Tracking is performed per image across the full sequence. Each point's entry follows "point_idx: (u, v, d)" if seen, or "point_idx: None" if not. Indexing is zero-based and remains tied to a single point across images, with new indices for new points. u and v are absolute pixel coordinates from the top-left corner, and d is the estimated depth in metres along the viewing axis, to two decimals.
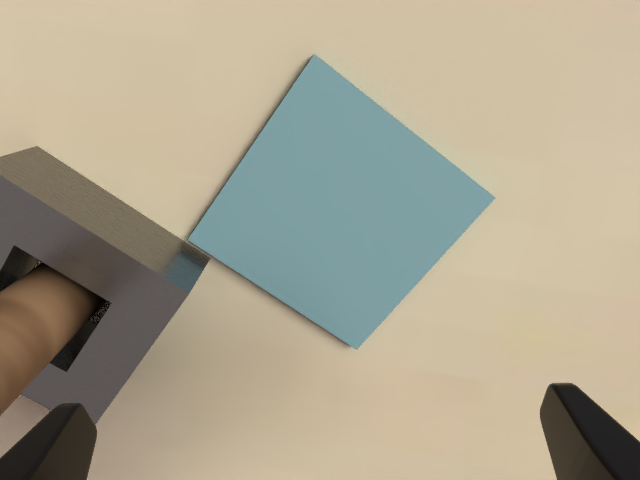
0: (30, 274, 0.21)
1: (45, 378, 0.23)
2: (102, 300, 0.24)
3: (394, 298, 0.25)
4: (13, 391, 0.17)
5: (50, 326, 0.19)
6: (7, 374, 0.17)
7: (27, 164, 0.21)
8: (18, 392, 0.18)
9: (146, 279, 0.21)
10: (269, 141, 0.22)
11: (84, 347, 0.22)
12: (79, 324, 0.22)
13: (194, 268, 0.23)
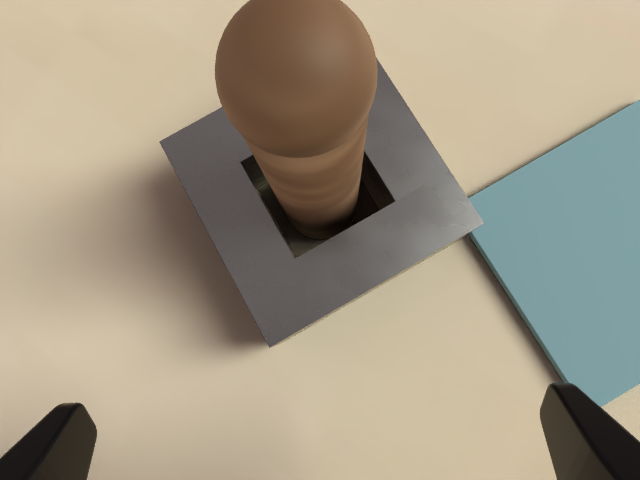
0: None
1: (265, 256, 0.19)
2: (347, 221, 0.22)
3: None
4: (353, 169, 0.14)
5: (361, 168, 0.17)
6: (364, 146, 0.14)
7: None
8: (343, 182, 0.15)
9: (447, 191, 0.19)
10: (577, 148, 0.23)
11: (334, 238, 0.19)
12: (348, 209, 0.19)
13: None
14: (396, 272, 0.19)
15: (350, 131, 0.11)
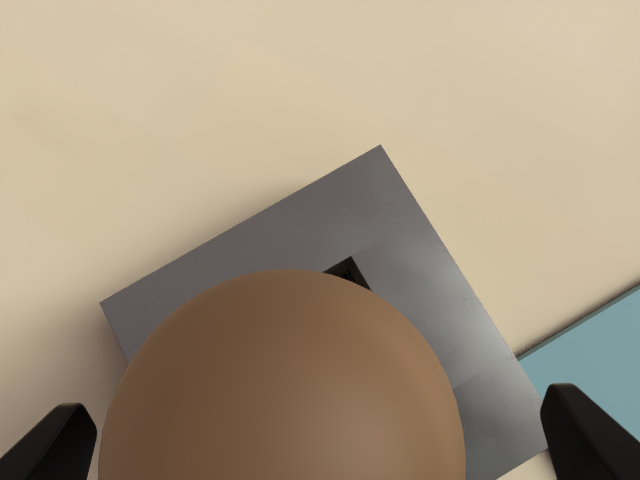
0: None
1: None
2: None
3: None
4: None
5: None
6: None
7: None
8: None
9: (510, 385, 0.13)
10: None
11: None
12: None
13: None
14: None
15: None
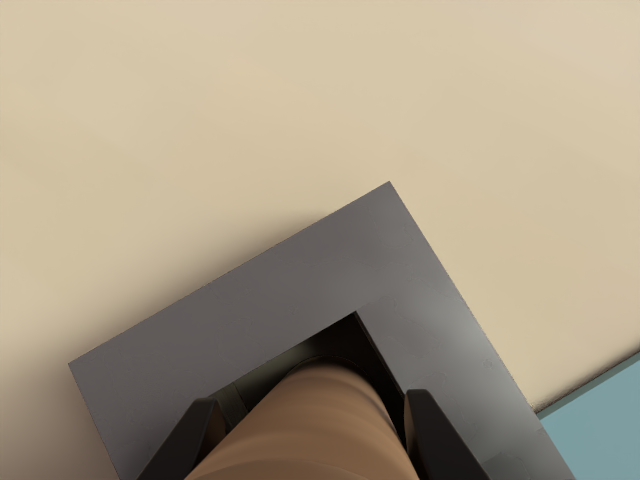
0: (337, 367, 0.12)
1: None
2: None
3: None
4: None
5: None
6: None
7: None
8: None
9: (540, 464, 0.12)
10: None
11: None
12: None
13: None
14: None
15: None
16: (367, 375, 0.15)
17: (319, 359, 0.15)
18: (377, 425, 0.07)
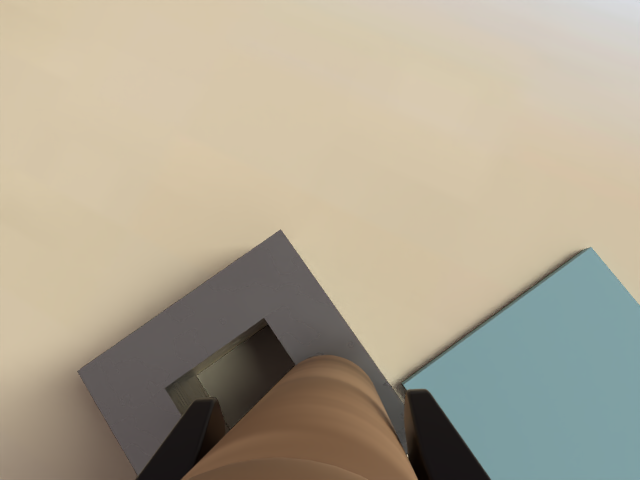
0: (336, 367, 0.12)
1: None
2: None
3: None
4: None
5: None
6: None
7: None
8: None
9: (386, 405, 0.18)
10: (525, 311, 0.22)
11: None
12: None
13: None
14: None
15: None
16: (366, 375, 0.15)
17: (318, 359, 0.15)
18: (375, 424, 0.07)
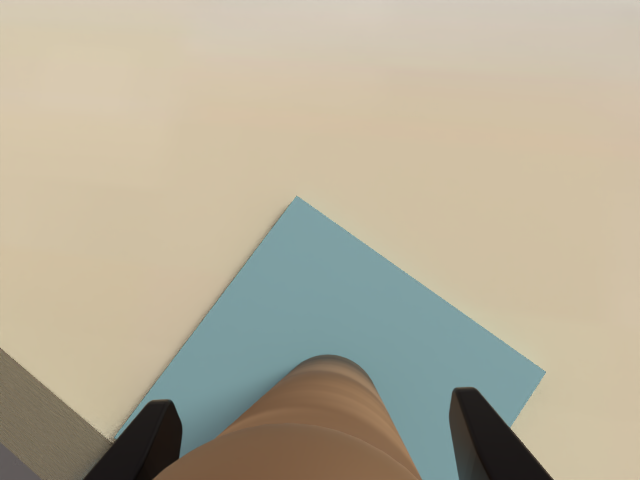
0: (337, 364, 0.13)
1: None
2: None
3: None
4: None
5: None
6: None
7: None
8: None
9: None
10: (239, 297, 0.17)
11: None
12: None
13: None
14: None
15: None
16: (366, 373, 0.16)
17: (320, 357, 0.15)
18: (373, 409, 0.08)
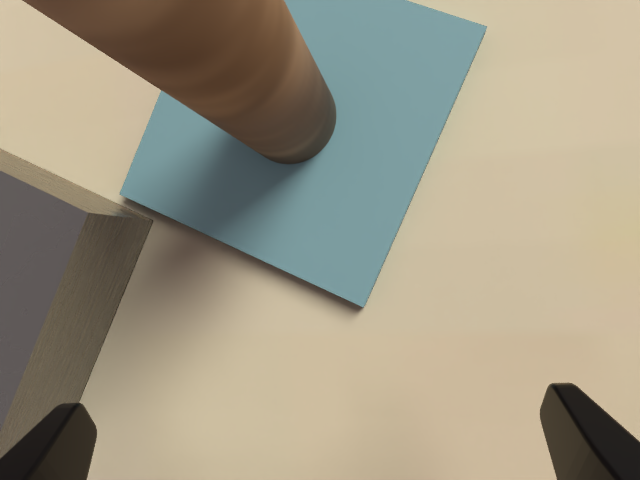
0: None
1: None
2: (320, 128, 0.16)
3: (394, 209, 0.17)
4: (251, 19, 0.09)
5: (296, 34, 0.11)
6: None
7: None
8: (247, 47, 0.09)
9: (37, 206, 0.16)
10: None
11: None
12: (305, 105, 0.14)
13: (118, 213, 0.18)
14: (41, 322, 0.16)
15: None
16: None
17: None
18: None
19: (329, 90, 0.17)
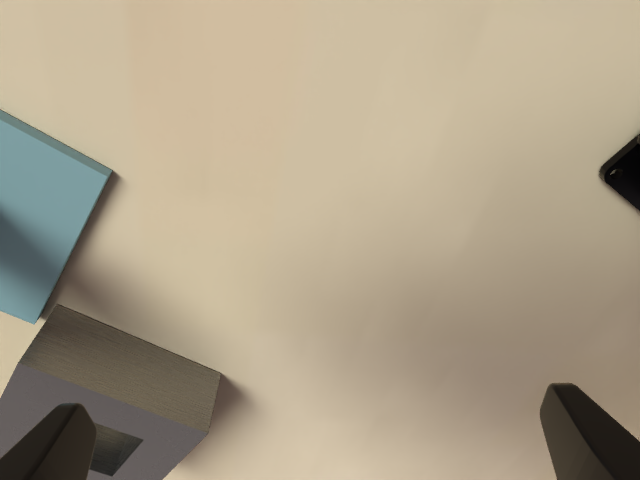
0: None
1: (155, 450, 0.26)
2: None
3: (14, 136, 0.19)
4: None
5: None
6: None
7: None
8: None
9: (19, 387, 0.23)
10: None
11: (112, 427, 0.25)
12: None
13: None
14: (102, 395, 0.23)
15: None
16: None
17: None
18: None
19: None
